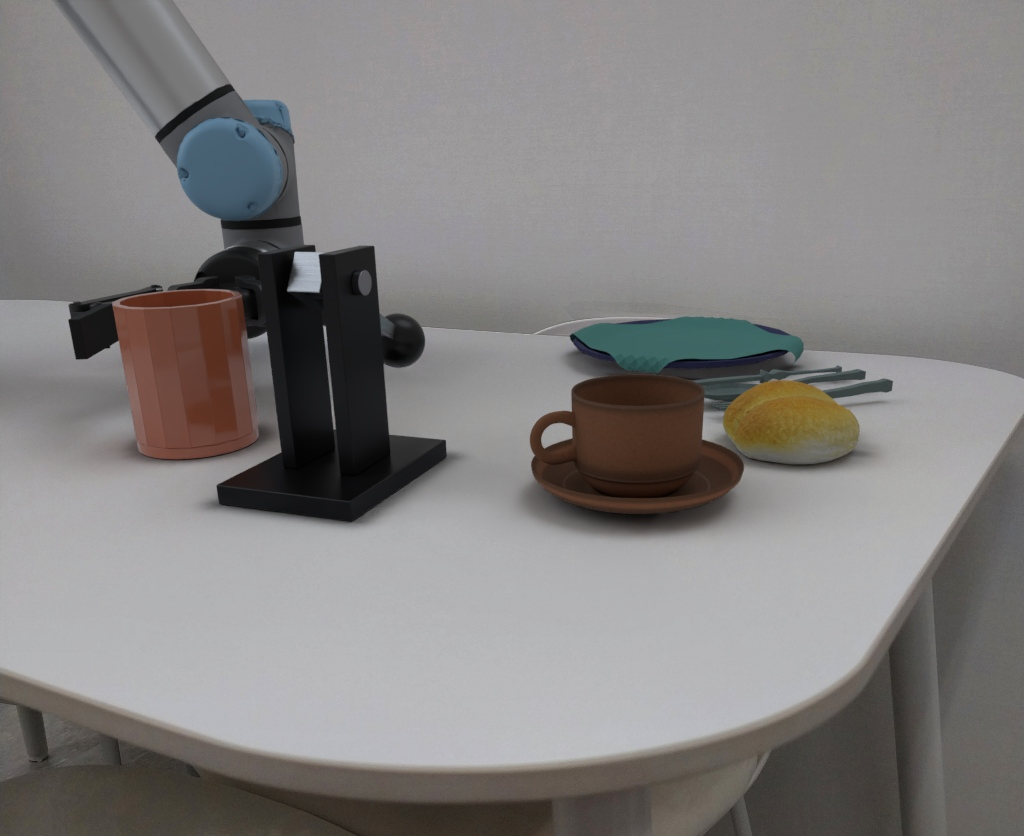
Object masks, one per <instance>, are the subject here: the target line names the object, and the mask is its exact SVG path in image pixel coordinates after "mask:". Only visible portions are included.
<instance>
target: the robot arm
mask: <svg viewBox="0 0 1024 836" xmlns="http://www.w3.org/2000/svg"><path fill="white" fill-rule="evenodd" d="M51 1H52V3H53V4H54V5H55V7H56V8H57V9H58V10H59V11H60V12H59V13H61V14H62V16H63V17H64V18H65V20H66V21H67V22H68V23H69V25H70V26H71V28H72V29H73V31H75V33H76V34H77V36H78V37H79V38H80V40H81V41H82V43H84V45H85V46H86V47H87V49H88V51H89V52H90V53H91V54H92V56H93V57H94V58H95V59H96V61H97V62H98V64H99V65H100V66H101V67H102V69H103V70H104V71H105V73H106V74H107V75H108V77H109V78H110V79H111V82H113V83H114V85H115V86H116V87H117V89H118V90H119V91H120V93H121V95H123V97H124V98H125V99H126V101H127V102H128V103H129V105H130V107H132V109H133V110H134V111H135V113H136V114H137V116H138V117H139V118H140V120H141V121H142V123H144V125H145V126H146V128H147V129H148V130H149V131H150V133H151V134H152V136H153V137H154V139H155V140H156V141H157V143H158V144H159V146H160V147H161V149H162V151H163V152H164V153H165V154H166V156H167V157H168V159H169V160H170V161H171V162H172V164H173V165H174V167H175V168H176V170H177V171H176V172H177V176H178V179H179V183H180V186H181V189H182V190H183V192H184V194H185V195H186V197H187V198H188V200H189V201H190V202H191V203H192V205H194V206H195V207H196V208H198V209H199V210H200V211H201V212H203V213H205V214H206V215H209V216H210V217H212V218H216V219H220V227H221V235H222V241H223V250H221V251H219V252H217V253H215V254H212V255H211V256H209V257H208V258H207V259H206V260H204V262H203V263H202V264H201V265H200V267H199V268H198V270H197V271H196V273H195V276H194V279H193V281H191V282H184V283H179V284H172V285H169V286H168V288H167V290H166V291H174V290H190V289H222V290H231V291H237V292H239V293H240V294H241V295H242V300H243V308H244V315H245V323H246V331H247V339H248V340H251V339H255V338H258V337H260V336H263V335H265V334H266V333H267V329H266V321H265V313H264V305H263V296H262V288H261V280H260V271H259V263H258V255H257V254H258V253H261V252H266V251H272V250H277V249H282V248H287V247H292V246H298V245H305V241H304V230H303V223H302V217H301V211H300V210H301V209H300V201H299V199H300V198H299V189H298V177H297V165H296V154H295V145H294V144H295V143H296V142H295V135H294V133H293V129H292V123H291V116H290V109H289V108H288V106H287V105H286V103H284V102H283V101H281V100H279V99H243V98H242V97H241V95H240V94H239V93H238V92H237V90H236V89H235V87H234V86H233V85H232V83H231V81H230V80H229V78H228V77H227V75H226V74H225V73H224V71H223V70H222V69H221V67H220V65H219V64H218V63H217V61H216V60H215V59H214V57H213V56H212V54H211V53H210V51H209V50H208V48H207V47H206V45H205V44H204V43H203V41H202V40H201V38H200V36H199V35H198V34H197V33H196V31H195V30H194V28H193V27H192V25H191V24H190V22H189V21H188V20H187V18H186V16H184V14H183V12H182V11H181V10H180V8H179V7H178V5H177V4H176V3H175V1H174V0H51ZM162 291H164V289H163V286H162V285H159V284H151V285H150V286H147V287H144V288H141V289H138V290H133V291H127V292H123V293H118V294H113V295H107V296H102V297H98V298H93V299H88V300H83V301H79V300H78V301H73V302H72V303H69V304H68V305H67V306H68V310H69V315H70V316H69V317H70V318H69V319H68V320H67V321H68V327H69V331H70V332H69V333H70V335H71V340H72V341H71V342H72V348H73V350H74V358H75V361H76V360H79V361H80V360H88V359H90V358H92V357H93V356H95V355H97V354H98V353H101V352H103V351H104V350H106V349H107V350H108V349H111V346H112V345H114V344H116V343H117V342H119V340H118V334H117V328H116V323H115V317H114V311H113V306H112V302H114V301H116V300H119V299H121V298H125V297H130V296H134V295H139V294H147V293H154V292H162ZM322 319H323V327H325V328H326V324H325V314H324V310H322Z"/></svg>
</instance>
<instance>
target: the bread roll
mask: <svg viewBox="0 0 1024 836" xmlns="http://www.w3.org/2000/svg"><path fill="white" fill-rule="evenodd" d="M758 384H759V385H756V386H754V387H753V388H751V389H749V390H747V391H745V392H744V393H743V394H741V395H740V396H739V397H737V398H736V399H735V400H734V401H733V402H732V403H731V404H730V405H728V407H727V409H726V411H724V414H723V419H722V427H723V429H724V432H725V434H726V436H727V437H728V438H729V440H730V441H731V443H733V444H734V445H735V447H736V449H737V450H738V451H739V452H740V454H742V455H743V456H745V457H747V458H750V459H752V460H753V459H754V460H757V461H766V462H772V463H778V464H784V465H816V464H821V463H827V462H831V461H834V460H836V459H839V458H841V457H844V456H846V455H848V454H849V453H850V452H852V451H854V450H855V449H856V447H857V446H858V442H859V437H860V433H861V428H860V423H859V421H858V418H857V417H856V416H855V414H854V413H853V412H852V411H851V410H850V409H849V408H847V407H845V406H843V405H841V404H838V403H837V402H836V401H835V400H834V398H833V399H832V398H831V397H830V396H828V395H827V394H826V393H824V392H823V391H822V389H820V388H819V387H816V386H814V385H811V384H805V383H802V382H797V381H792V380H790V379H789V380H787V379H782V380H776V379H774V380H770V381H768V382H764V383H758Z"/></svg>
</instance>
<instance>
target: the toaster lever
mask: <svg viewBox="0 0 1024 836" xmlns="http://www.w3.org/2000/svg"><path fill="white" fill-rule="evenodd" d="M327 252H328V251H316V252H295V254H294V258H293V263H292V268H291V273H290V278H289V283H288V288H287V292H288V293H290V294H291V295H293V296H294V297H296V298H297V299H298V300H300V301H301V302H303V303H304V304H306V305H307V306H308V307H310V308H311V309H313V310H324V304H323V294H322V284H321V274H320V263H319V254H323V253H327ZM380 325H381V337H382V350H383V363H384V366H387V367H390V368H395V369H404V368H407V367H410V366H412V365H414V364H415V363H416V362H417V361H419V359H420V358H421V356H422V355H423V353H424V352H425V351H424V350H425V347H426V335H425V331H424V329H423V327H422V326H421V324H420V323H419V322H418V320H416V319H415V318H414V317H412V316H411V315H408V314H406V313H401V312H395V313H389V314H387V315H385V316H384V315H383V314H382V313H380Z"/></svg>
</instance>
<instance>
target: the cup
mask: <svg viewBox="0 0 1024 836" xmlns="http://www.w3.org/2000/svg"><path fill="white" fill-rule="evenodd" d="M112 306H113V311H114V317H115V323H116V328H117V334H118V340H119V341H118V345H119V350H120V356H121V362H122V367H123V373H124V379H125V385H126V390H127V395H128V396H127V397H128V402H129V407H130V413H131V417H132V423H133V430H134V435H135V441H136V448H137V450H138V452H139V453H140V454H141V455H144V456H146V457H149V458H153V459H160V460H161V459H162V460H193V459H194V460H195V459H203V458H210V457H215V456H221V455H224V454H229V453H232V452H236V451H239V450H241V449H244V448H247V447H249V446H251V445H252V444H254V443H255V442H256V441H257V440H258V439H259V437H260V432H259V418H258V409H257V403H256V394H255V386H254V379H253V371H252V363H251V356H250V355H251V354H250V348H249V347H250V346H249V339H247V331H246V323H245V315H244V308H243V300H242V295H241V294H240V293H239V292H237V291H231V290H222V289H190V290H174V291H167V290H163V291H162V292H154V293H147V294H139V295H134V296H130V297H125V298H121V299H119V300H116V301H114V302H112Z"/></svg>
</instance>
